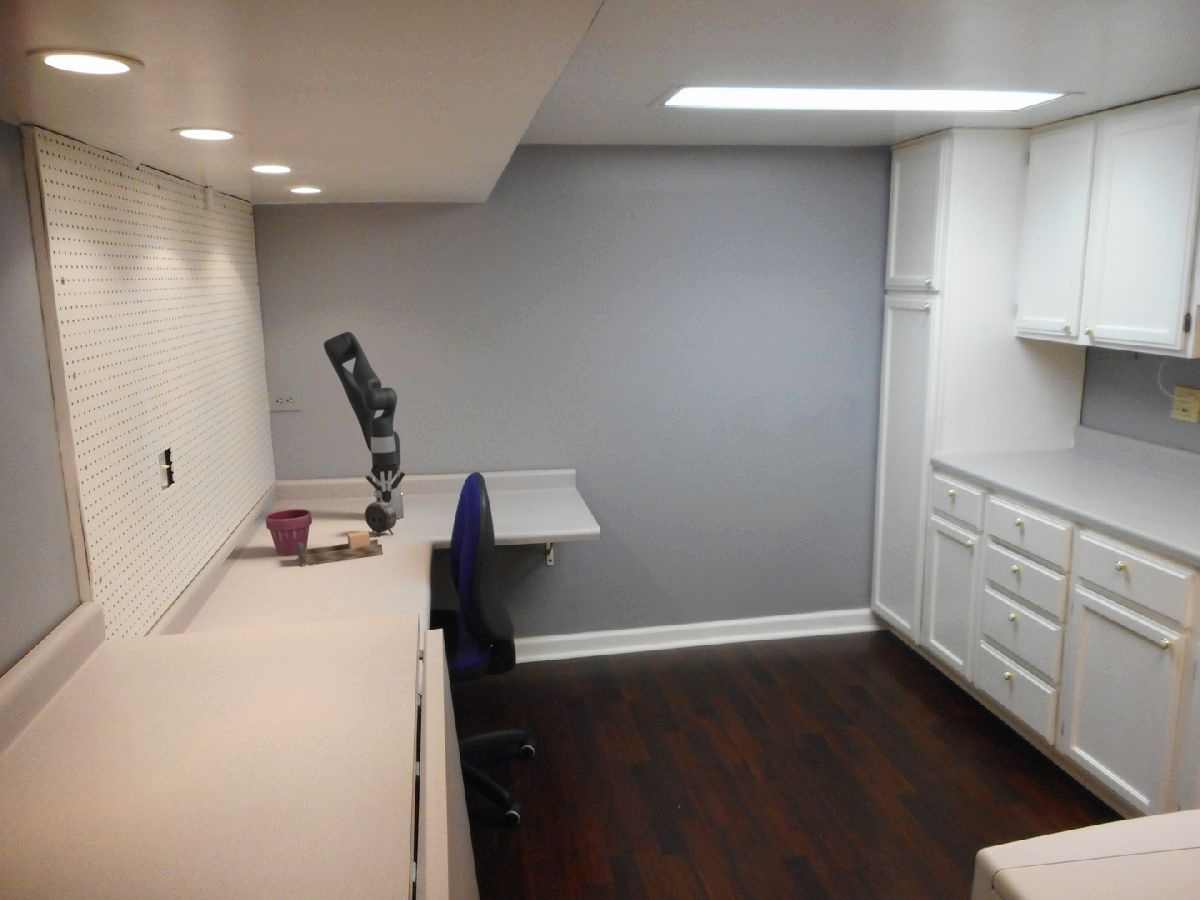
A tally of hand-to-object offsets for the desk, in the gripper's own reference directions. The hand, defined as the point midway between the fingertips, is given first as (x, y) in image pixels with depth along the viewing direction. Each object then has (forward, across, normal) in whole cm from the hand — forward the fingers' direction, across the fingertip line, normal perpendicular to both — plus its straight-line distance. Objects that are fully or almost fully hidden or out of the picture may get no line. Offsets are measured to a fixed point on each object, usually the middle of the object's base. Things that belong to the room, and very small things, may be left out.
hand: (386, 502), depth 279 cm
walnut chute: (+16, +16, 0) cm, 22 cm away
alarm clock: (+16, -1, -20) cm, 26 cm away
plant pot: (+16, +29, -14) cm, 36 cm away
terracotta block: (+16, +10, 0) cm, 19 cm away
